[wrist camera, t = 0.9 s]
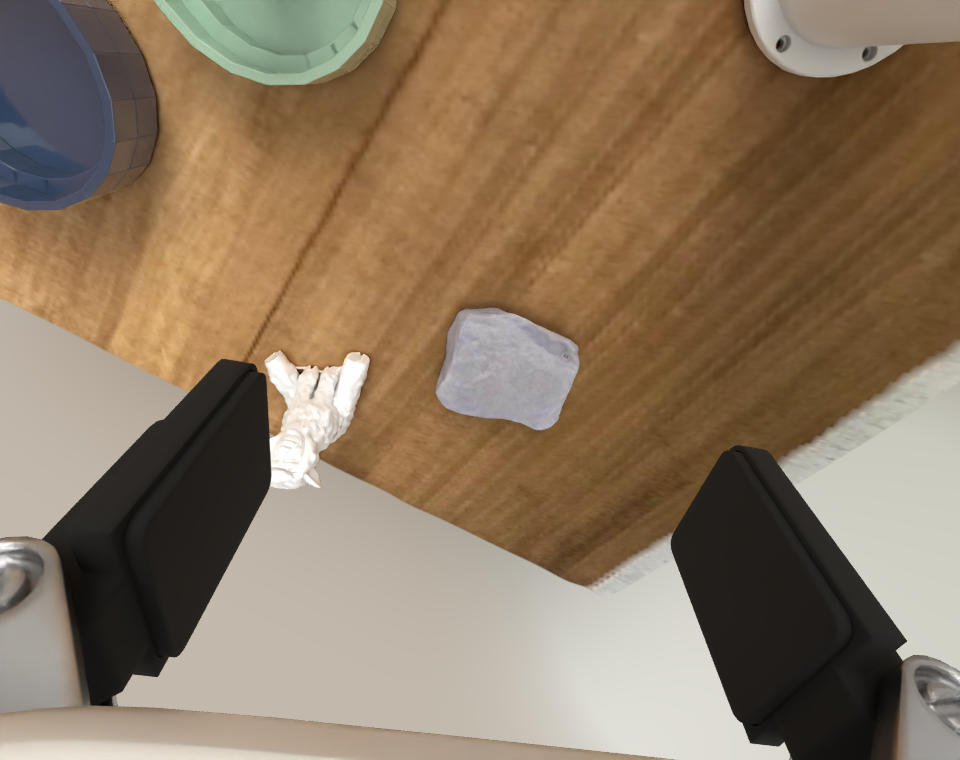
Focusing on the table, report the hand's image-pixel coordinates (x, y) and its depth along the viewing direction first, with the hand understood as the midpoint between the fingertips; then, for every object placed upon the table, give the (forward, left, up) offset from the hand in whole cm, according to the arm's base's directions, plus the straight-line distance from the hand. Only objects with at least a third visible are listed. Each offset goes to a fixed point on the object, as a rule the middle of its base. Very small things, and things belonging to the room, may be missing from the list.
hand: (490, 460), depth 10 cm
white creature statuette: (+25, -2, -31) cm, 40 cm away
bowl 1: (+13, -29, -31) cm, 44 cm away
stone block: (+12, +10, -31) cm, 35 cm away
